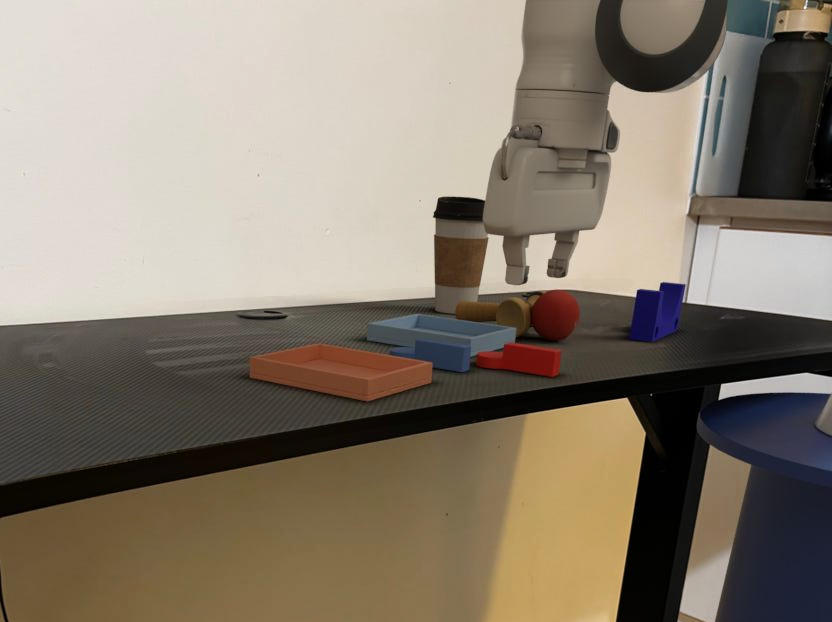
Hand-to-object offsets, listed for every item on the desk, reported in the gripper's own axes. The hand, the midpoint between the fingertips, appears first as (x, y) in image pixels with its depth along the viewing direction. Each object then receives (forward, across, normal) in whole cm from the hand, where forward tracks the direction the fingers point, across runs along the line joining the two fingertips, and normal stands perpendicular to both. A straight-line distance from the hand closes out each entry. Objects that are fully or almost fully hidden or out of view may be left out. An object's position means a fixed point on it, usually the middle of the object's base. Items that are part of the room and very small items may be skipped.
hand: (536, 280), depth 99 cm
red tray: (+9, -18, +11) cm, 23 cm away
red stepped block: (+9, 0, +1) cm, 9 cm away
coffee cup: (+10, +32, +27) cm, 43 cm away
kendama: (+10, +21, +12) cm, 26 cm away
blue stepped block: (+9, -5, +9) cm, 14 cm away
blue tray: (+9, +8, +15) cm, 20 cm away
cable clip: (+9, +35, -1) cm, 36 cm away
